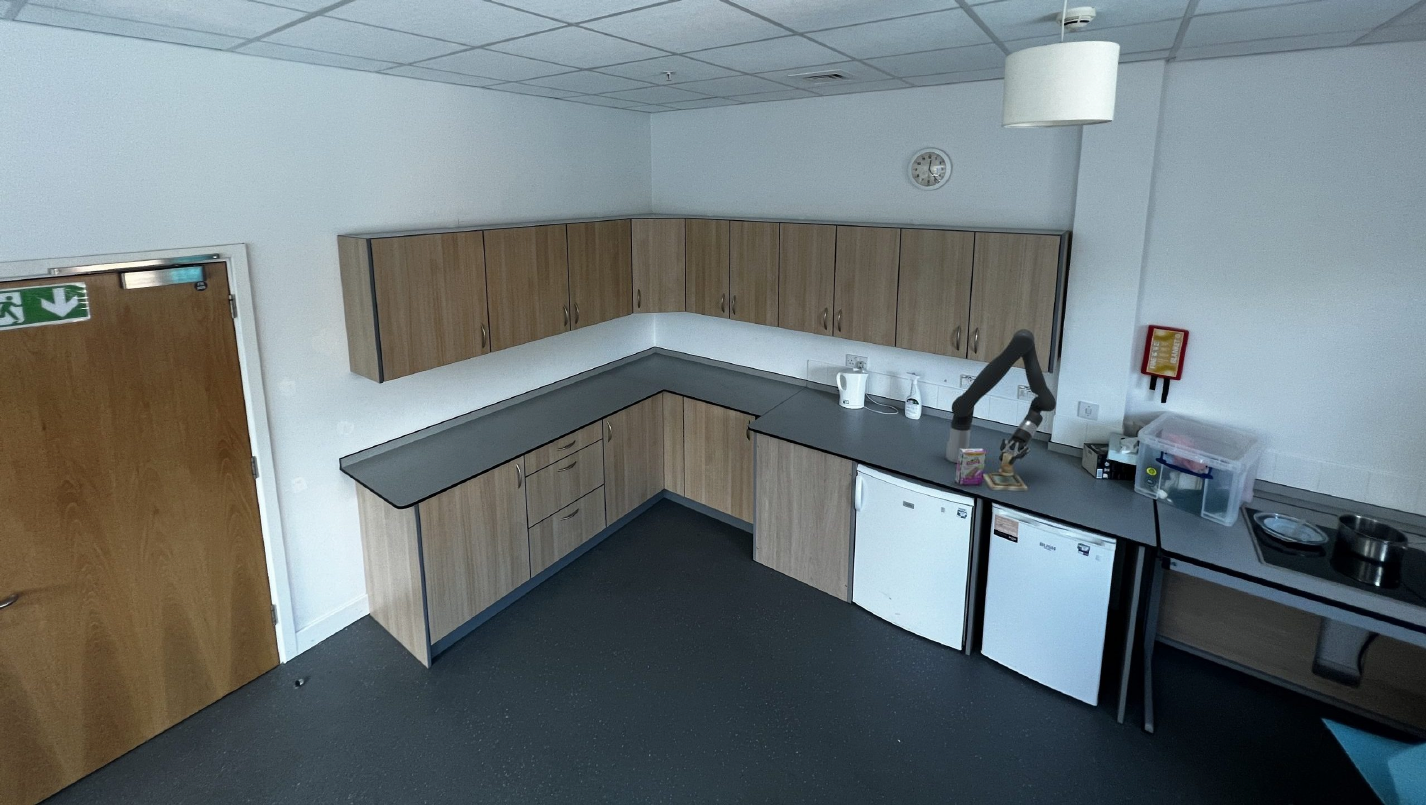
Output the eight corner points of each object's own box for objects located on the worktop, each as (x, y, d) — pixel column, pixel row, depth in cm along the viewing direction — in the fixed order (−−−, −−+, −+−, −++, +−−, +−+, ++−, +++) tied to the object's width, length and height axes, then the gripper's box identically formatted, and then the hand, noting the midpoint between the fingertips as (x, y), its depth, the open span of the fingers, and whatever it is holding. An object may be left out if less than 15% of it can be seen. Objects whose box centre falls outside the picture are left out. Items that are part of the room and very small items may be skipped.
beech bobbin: (995, 472, 327) (997, 454, 325) (1004, 469, 331) (1006, 451, 328) (1007, 476, 322) (1010, 458, 319) (1016, 473, 325) (1019, 455, 323)
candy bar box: (958, 485, 327) (962, 452, 322) (954, 480, 332) (958, 448, 326) (982, 484, 327) (986, 452, 322) (978, 480, 332) (982, 447, 327)
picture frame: (990, 489, 322) (991, 484, 322) (982, 476, 336) (983, 471, 335) (1027, 490, 321) (1027, 485, 320) (1017, 477, 334) (1018, 472, 333)
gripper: (1008, 423, 329) (988, 453, 327) (1035, 432, 318) (1015, 463, 316) (1014, 431, 334) (994, 461, 332) (1041, 441, 322) (1021, 471, 320)
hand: (1005, 462), depth 324 cm, fingers closed on beech bobbin, 4 cm apart
